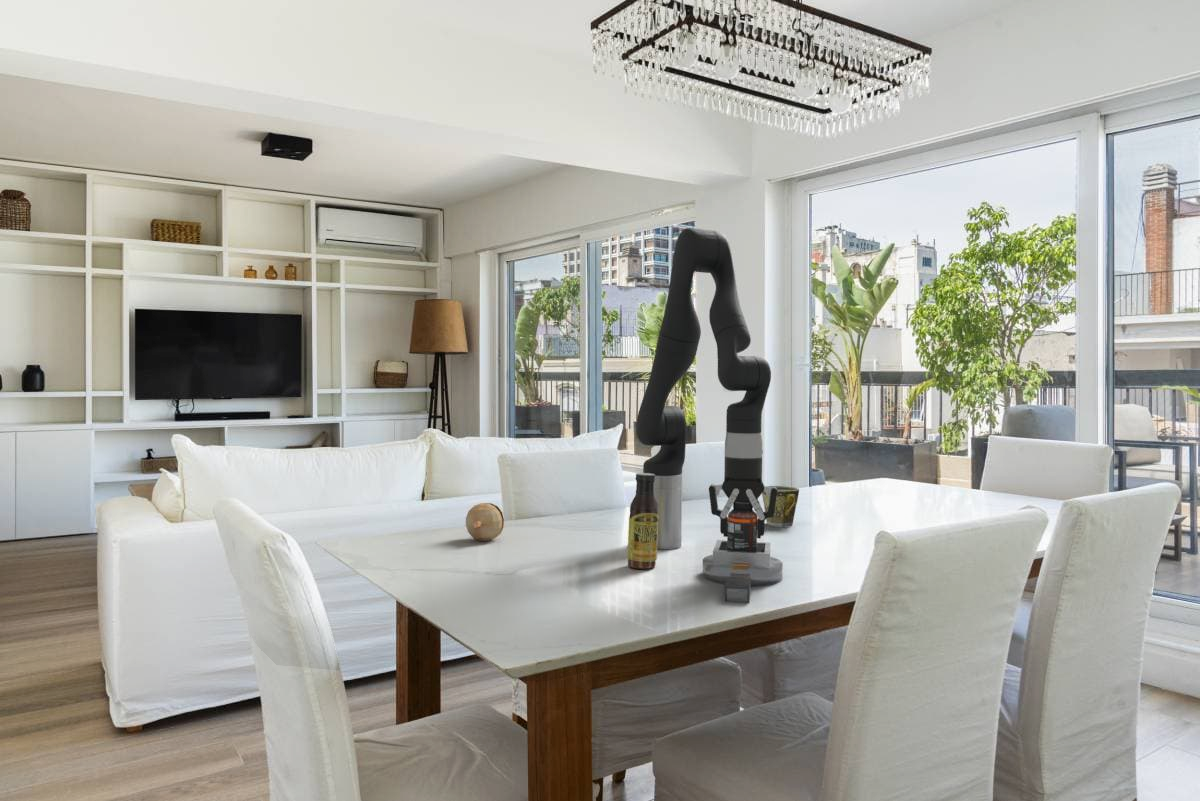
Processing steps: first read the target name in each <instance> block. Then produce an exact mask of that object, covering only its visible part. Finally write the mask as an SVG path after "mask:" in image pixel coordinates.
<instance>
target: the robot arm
mask: <svg viewBox="0 0 1200 801" xmlns="http://www.w3.org/2000/svg"><path fill="white" fill-rule="evenodd" d="M730 245H731V244H730V242H729V240H728V238H727V236H726V235H725V234H724V233H723V232H720V231H717V230H712V229H711V230H709V229H702V228H701V229H700V228H694V227H688V228H686V227H685V228H684V229H682V231H681V232H680V233H679V235H678V236H677V239H676V243H675V246H674V251H673V257H672V258H673V259H672V264H671V272H670V279H669V280H670V281H669V285H668V286H669V287H668V292H667V293H668V294H667V299H666V303H665V307H664V308H665V309H664V313H663V316H662V317H663V318H662V322H661V325H660V327H659V328H660V329H659V333H658V337H657V341H656V342H657V343H656V345H655V346H656V347H655V351H654V352H655V353H654V358H653V361H652V367H651V372H650V375H649V378H648V382H647V384H646V385H647V386H646V388H645V391H644V395H643V398H642V400H641V403H640V407H639V410H638V414H637V418H636V423H635V424H636V425H635V429H636V436H637V440H638V441H639V442H640V443H641V444H642V445H644V446H645V445H646V446H660V449H659V451H658V452H657V453H656V454H655V455H653V456H652V457H650V458H648V459H646V460H645V461H644V462H643V464H642V466H643V467H642V468H643V469H642V473H650V474H655V481H654V497H655V500H656V502H657V504H658V537H657V550H671V549H679V548H681V547H682V537H683V536H682V535H683V534H682V533H683V532H682V530H683V528H682V526H683V525H682V523H683V515H682V513H683V500H682V499H683V466H684V464H685V459H686V445H687V444H686V443H687V418H686V416H685V413H684V411H683V409H682V408H680V407H679V406H675V405H666V403H667V400H668V398H669V395H670V393H671V392H672V390H673V388H674V387H675V386H676V385H677V383H678V382H679V381H680V380H681V379H682V377H683V376H684V375H685V374H686V372H688V370H689V369H690V367H692V365H693V363H694V362H695V359H696V356H697V351H698V348H699V343H700V340H701V335H702V331H701V330H702V329H701V324H700V321H699V320H700V319H699V317H698V314H697V312H696V308H695V305H694V302H693V298H692V283H693V278H694V274H695V273H704V274H710V275H711V277H712V279H713V281H714V284H715V292H714V296H713V298H712V300H711V305H710V308H709V315H708V317H709V318H708V319H709V324H710V327H711V330H712V334H713V337H714V340H715V343H716V348H717V354H716V355H717V378H718V381H719V383H720V385H721V386H722V388H724V389H725V390H727V391H731V392H744V391H745V394H744V396H743V398H742V399H741V400H740V401H737V402H734V403H731V404H729V405H728V406H727V408H726V425H725V427H726V428H725V430H726V431H725V441H724V474H723V475H724V478H723V479H724V480H723V483H722V484H713V483H712V484H711V485H709V486H708V493H709V501H710V502H709V503H710V511H711V514H712V515H713V516H717V517H719V519H720V520H719V522H720V526H719V528H720V530H719V532H720V534H722V535H723V537H724V538H725V537H726V538H727V534H728V514H729V512H730V511H731V508H733V504H734V502H750V503H751V504H752V506H753V508H752V509H753V511H754V512H755V513H756V514H757V539H761V538H762V537H764V535H765V524H766V523H765V522H766V521H765V520H766V519H767V518H771V517H773V516H774V510H775V503H776V497H777V488H776V487H767V486H768V485H767V486H765V485H764V483H763V482H764V481H763V454H764V452H763V451H764V449H763V439H762V438H763V437H762V414H763V409H764V406H765V403H766V398H767V395H768V392H769V388H770V386H771V385H770V384H771V381H772V380H771V379H772V370H771V367H770V364H769V362H768V361H767V360H766V359H765V358H764V357H762V356H758V355H757V356H755V355H754V356H753V355H751V356H750V355H747V356H746V355H739V354H740V353H741V352H743V351H745V350H747V349H748V348H749V347H750V345H751V342H752V340H751V334H750V331H749V328H748V325H747V322H746V319H745V316H744V314H743V310H742V307H741V304H740V300H739V295H738V290H737V288H738V287H737V280H736V275H735V268H734V262H733V257H732V256H733V255H732V254H733V253H732V251H731V246H730ZM721 491H723V493H724V494H725V495H726V497H727V498H728V499H727V501H726V503H725V505H724V506H723V509H720V508H719V504H718V496H719V495H720V494H721V493H720V492H721ZM763 491H765V492H766V495H767V497H768V498H770V501H769V508H768V511H765V510H763V508H762V506H761V503H760V501H759V498H760V496H762V493H763Z"/></svg>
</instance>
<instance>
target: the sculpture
mask: <svg viewBox="0 0 1200 801" xmlns="http://www.w3.org/2000/svg"><path fill="white" fill-rule="evenodd" d="M465 527H466V530H467V533H468V534H469V535H470V537H471V538H473V539H475V540H476V541H481V542H489V541H493V540H494V539H496V538H497V537H498V536H499V535H501V534H502V532H503V530H504V527H505V517H504V514H503V511H502V510H501V509H500V507H499V506H497V505H496V504H493V503H490V502H487V503H486V502H482V503H481V502H480V503H477V504H475V505H473V506H472V507H471V508H470V509H468V512H467V514H466V517H465Z"/></svg>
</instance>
